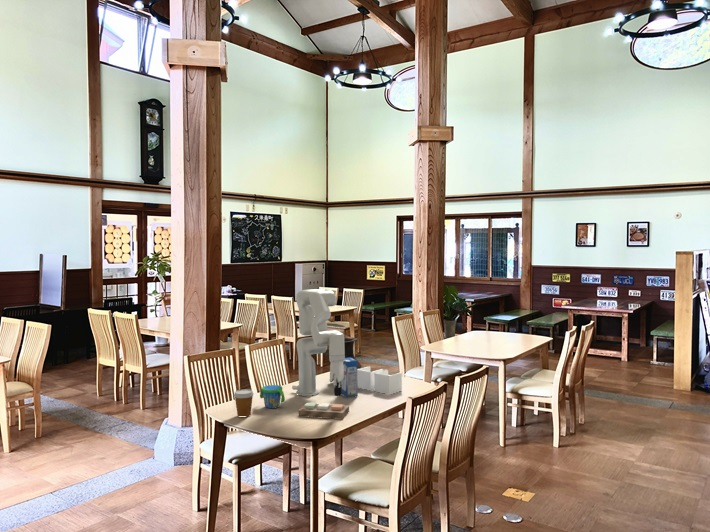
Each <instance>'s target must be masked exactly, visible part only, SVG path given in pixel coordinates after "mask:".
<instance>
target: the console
mask: <svg viewBox="0 0 710 532" xmlns="http://www.w3.org/2000/svg"><path fill="white" fill-rule="evenodd" d="M319 404H320V403H317V407H316V408H315V409H306V408H304V405H302V406H301V407H300V408H299V409H298V411H297V414H298V417H301V416H309V417H308V418H318V417H322V419H335V418H336V419H335V420H338V419H339V420H344V419H345V418H346V416H347V415H348V412H349V413H350V406H349V405H345V404H344V409H343V410H342V411H339V410H331V407H332V406H333V405H334V404H330V408H329V409H328V410H321V409H318V405H319Z"/></svg>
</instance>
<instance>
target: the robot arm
mask: <svg viewBox="0 0 710 532" xmlns="http://www.w3.org/2000/svg"><path fill="white" fill-rule="evenodd" d="M295 300H296V306H297V308H298V319H299V320H298V327H299V333H300V335H301V336H306V337H303V338H300V339H298V340H297V342H296V352H297V358H298V359H297V360H298V385H292V386H291V388H292V390H296V393H295V394H296V395H297V394H298V396H299V395H302V396H301V397H311V396H312V395H313V396H317V395H319V389H317V388H316V387H317V381H316V380H317V376H316V375H317V372H316V367H317V366H316V361H315V358H313V356H312V355H317V354H324V353H326V352H327V350H329V351H328V353H329V356H328V357H329V362H330V366H329V382H330V383H333V393H334V397H340V396H342V394H341V380H343V378H344V366H343V362H344V361H345V348H344V334H345V333H344V334H343V333H340V331H339V330H336V329H335V330H328V322H327V321H329V319H330V318H331V316H332V313H331V310H330V307H334V306H336V305H337V304H336V303H337V296H336V293H334V291H333V290H330V289H327V288H318V289H317V288H316V289H315V288H314V289H313V288H311V289H302V290H299V291H298V292H297V293H296V297H295ZM307 336H311V337H307ZM328 347H329V348H328ZM313 396H312V397H313Z"/></svg>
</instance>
